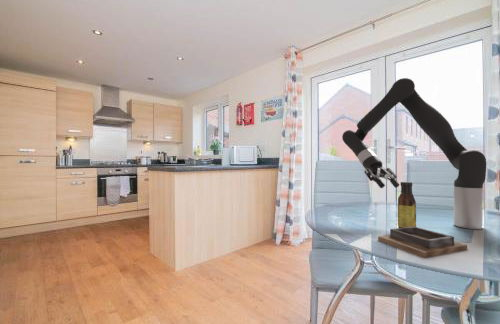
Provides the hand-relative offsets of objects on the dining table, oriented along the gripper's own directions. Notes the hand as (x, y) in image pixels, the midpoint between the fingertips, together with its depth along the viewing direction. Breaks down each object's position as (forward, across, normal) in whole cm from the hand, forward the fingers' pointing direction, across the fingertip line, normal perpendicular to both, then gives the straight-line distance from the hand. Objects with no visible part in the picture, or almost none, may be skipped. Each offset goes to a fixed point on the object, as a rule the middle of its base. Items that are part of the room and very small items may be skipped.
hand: (390, 186), depth 103 cm
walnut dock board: (+27, -11, -2) cm, 29 cm away
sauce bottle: (+18, 0, +7) cm, 19 cm away
